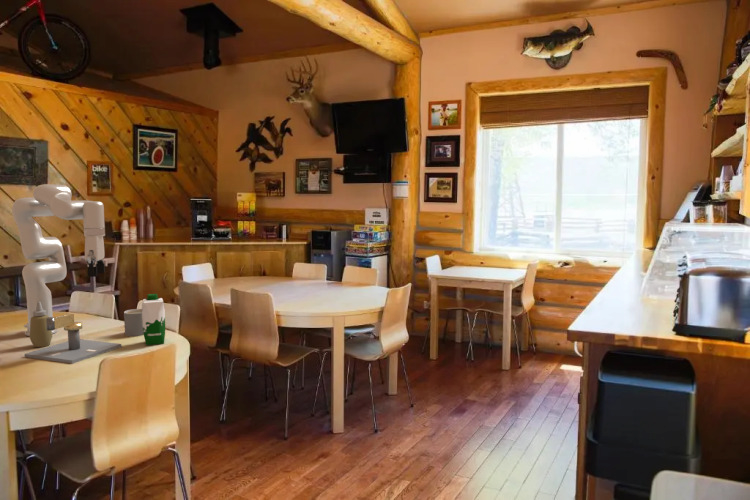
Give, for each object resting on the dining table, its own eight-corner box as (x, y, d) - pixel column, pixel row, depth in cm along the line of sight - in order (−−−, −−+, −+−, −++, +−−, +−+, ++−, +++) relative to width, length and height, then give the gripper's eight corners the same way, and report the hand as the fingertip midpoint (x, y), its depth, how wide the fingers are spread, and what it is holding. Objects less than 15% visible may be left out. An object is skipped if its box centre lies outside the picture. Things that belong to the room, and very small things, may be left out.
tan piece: (41, 334, 219) (40, 318, 218) (73, 326, 233) (73, 310, 232) (54, 336, 217) (53, 319, 216) (86, 327, 230) (85, 311, 230)
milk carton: (165, 338, 249) (163, 292, 247) (166, 344, 241) (164, 296, 238) (143, 341, 245) (140, 294, 243) (143, 346, 237) (141, 298, 235)
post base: (24, 356, 222) (23, 333, 221) (76, 341, 245) (75, 320, 244) (72, 363, 214) (71, 339, 213) (121, 346, 236) (120, 325, 236)
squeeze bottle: (57, 344, 241) (54, 301, 239) (40, 349, 233) (37, 305, 231) (42, 342, 243) (40, 299, 241) (25, 347, 236) (22, 303, 234)
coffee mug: (127, 337, 251) (126, 314, 250) (122, 332, 260) (121, 310, 259) (159, 333, 259) (158, 311, 258) (154, 328, 267) (153, 307, 266)
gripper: (91, 230, 240) (93, 271, 242) (76, 234, 223) (79, 278, 225) (110, 230, 241) (112, 271, 243) (97, 234, 224) (99, 277, 226)
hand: (96, 274), depth 234 cm, fingers open, 9 cm apart
